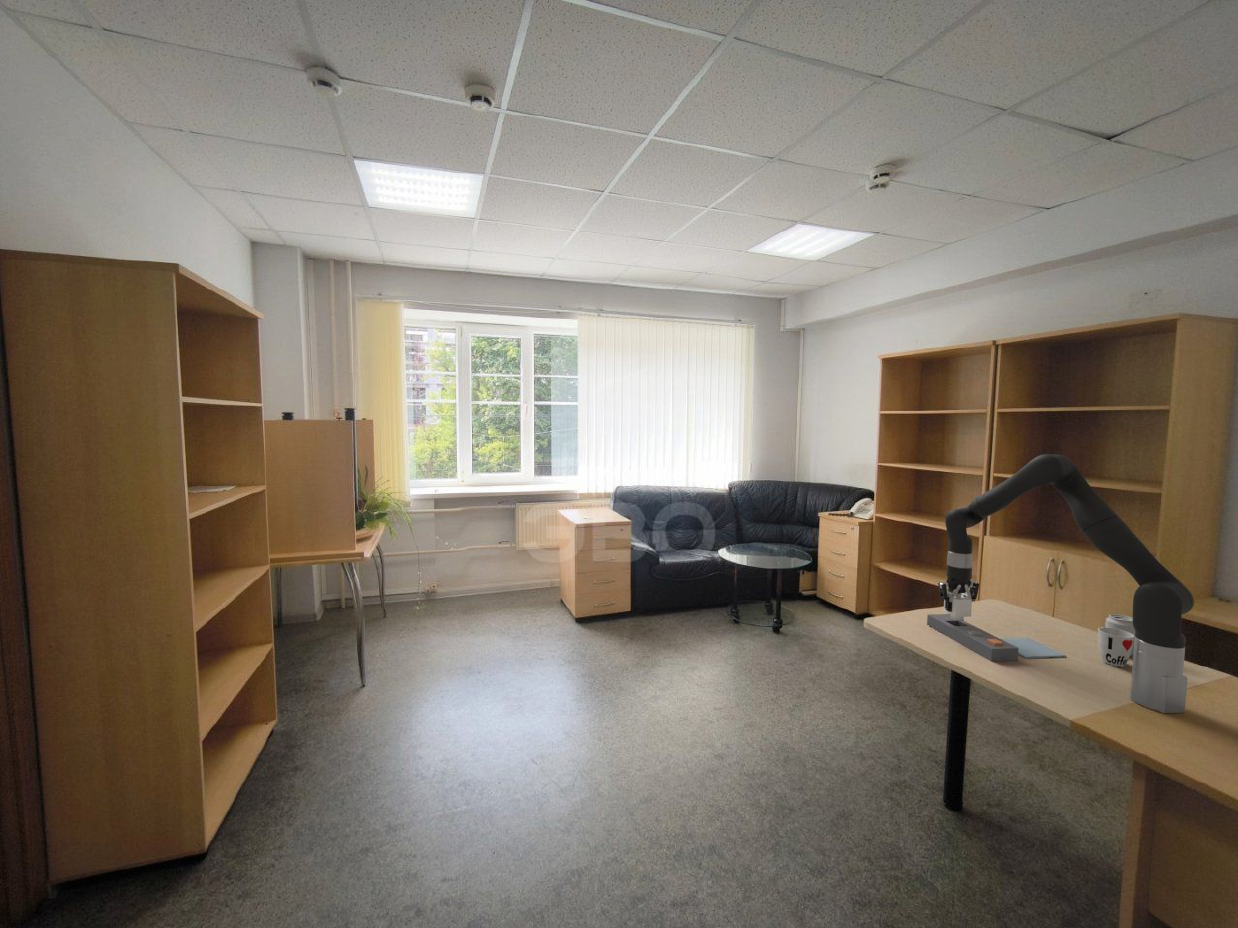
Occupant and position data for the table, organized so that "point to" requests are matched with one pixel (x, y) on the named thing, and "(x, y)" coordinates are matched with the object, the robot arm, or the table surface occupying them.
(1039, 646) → the mat
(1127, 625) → the can
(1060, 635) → the table surface
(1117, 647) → the cup
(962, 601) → the block
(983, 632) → the power strip
